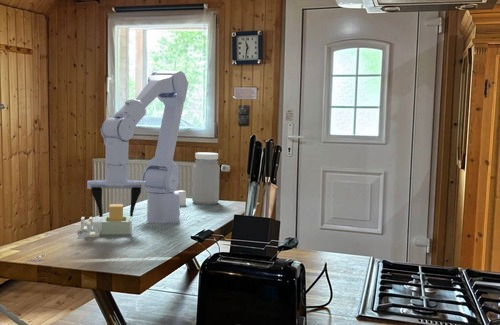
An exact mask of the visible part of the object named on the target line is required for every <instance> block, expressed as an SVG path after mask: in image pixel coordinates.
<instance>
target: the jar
mask: <svg viewBox="0 0 500 325" xmlns="http://www.w3.org/2000/svg"><path fill="white" fill-rule="evenodd" d="M194 156H195V159H196V160H195V161H194V162H195V163H194V165H193V167H192V191H191V192H192V194H191V195H192V196H191V200H192V202H193V203H194V204H196V205H201V206H213V205H217V203H218V202H219V200H220V172H221V171H220V170H221V168H220V165H219V161H218V159H219V153H217V152H210V151H209V152H207V151H206V152H202V151H201V152H200V151H199V152H195V153H194Z"/></svg>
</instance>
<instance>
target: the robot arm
mask: <svg viewBox="0 0 500 325" xmlns="http://www.w3.org/2000/svg"><path fill="white" fill-rule="evenodd" d="M188 87H189V82H188V79H187V76H186V74H185V73H184V72H183V71H181V70H177V71H159V70H155V71H153V72H152V73H151V74H150V75H149V76H147V84H146V85H145V86H144V87H143V89H142V90H141V91H140V92H139V94H138V95H137V97H136V98H132V99H127V100H126V101H124V104H123V106H122V107H121V108H120V109H119V110H118V111H117V112H115V114H114V115H113V117H108V118H107V119H105V120H104V122H102V124H101V125H102V126H101V127H100V133H101V136H102V138H103V145H104V146H105V170H104V171H105V176H104V177H105V179H97V180H87V183H86V184H87V185H86V186H87V187H86V189H87V190H91V191H90V192H91V194H92V196H93V199H94V202H95V203H96V206H97V210H98V217H99V218H103V190H104V189H107V190H108V189H118V190H119V189H123V190H124V189H127V190H128V189H130V194H131V195H130V209H129V216H130V218H132V217H133V216H134V210H135V206H136V203H137V201H138V199H139V197H140V195H141V192H142V190H145V191H146V192H147V199H146V200H147V204H146V206H147V208H146V210H147V211H146V216H145V217H144V219H145V223H150V224H151V223H153V224H154V223H180V217H181V212H180V207H181V206H180V195H179V192H175V191H176V190H177V189H178V186H179V183H180V176H179V175H180V174H179V173H180V172H179V171H180V167H179V166H178V164H177V163H176V162H175V161H174V155H175V151H176V146H177V141H178V134H179V131H180V124H181V120H182V116H183V110H184V104H185V102H186V98H187V94H188ZM156 98H158V100H159V101H160V102H161V103H163V105H164V109H163V113H162V119H161V125H160V129H159V134H158V139H157V144H156V149H155V154H154V157H152V158H151V159H150V160H148V161H147V162H146V166H145V168H144V170H143V172H142V174H141V180H130V179H129V145H130V144H129V141H130V140H131V139H132V138H133V137H134V133H135V129H136V127H137V125H138V123H139V122H140V121H141V120H143V118H144V117H145V116H146V115H147V114H146V112H147V111H146V108H148V106H149V105H150V104H151V103H153V101H154V100H156Z"/></svg>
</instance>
